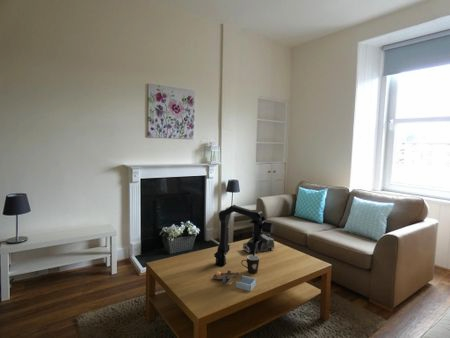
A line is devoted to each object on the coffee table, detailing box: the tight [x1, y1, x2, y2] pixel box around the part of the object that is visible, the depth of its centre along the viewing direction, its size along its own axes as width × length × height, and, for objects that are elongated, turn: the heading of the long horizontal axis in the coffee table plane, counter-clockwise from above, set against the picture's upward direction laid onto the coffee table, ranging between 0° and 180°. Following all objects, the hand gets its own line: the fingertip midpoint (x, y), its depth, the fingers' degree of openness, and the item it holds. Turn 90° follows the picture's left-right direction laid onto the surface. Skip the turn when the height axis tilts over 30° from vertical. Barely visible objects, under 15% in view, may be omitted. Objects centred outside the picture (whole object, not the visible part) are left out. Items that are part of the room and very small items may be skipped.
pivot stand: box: [221, 269, 232, 285], centre depth 171 cm, size 3×8×5 cm, turn 153°
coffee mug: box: [240, 254, 260, 275], centre depth 184 cm, size 12×9×10 cm
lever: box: [212, 271, 240, 285], centre depth 168 cm, size 16×13×3 cm
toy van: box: [242, 236, 275, 255], centre depth 222 cm, size 11×25×10 cm, turn 114°
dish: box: [235, 274, 257, 292], centre depth 166 cm, size 9×9×4 cm
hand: (256, 253), depth 180 cm, fingers open, 9 cm apart
